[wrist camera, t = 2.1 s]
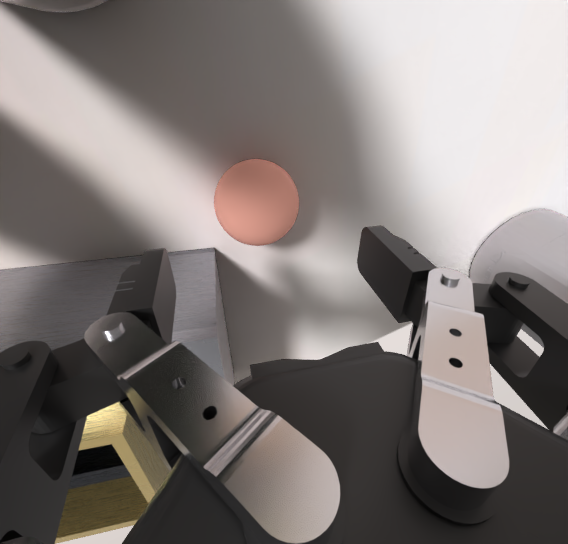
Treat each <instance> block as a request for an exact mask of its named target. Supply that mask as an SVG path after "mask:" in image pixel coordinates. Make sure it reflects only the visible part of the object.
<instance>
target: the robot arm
mask: <svg viewBox="0 0 568 544" xmlns="http://www.w3.org/2000/svg"><path fill="white" fill-rule="evenodd" d="M357 264H358V269H359V271H360V273H361V275H362V276H363V277H364V279H365V280H366V281H367V282H368V284H369V285H370V286H371V288H372V289H373V290H374V292H375V293H376V294H377V296H378V297H379V298H380V299H381V301H382V302H383V303H384V305H385V306H386V307H387V309H388V310H389V311H390V313H391V314H392V315H393V316H394V318H395V319H396V320H397V322H398V323H402V322H408V321H412V322H413V325H412V328H411V332H410V338H409V344H408V351H407V356H405V355H402V354H398V353H393V352H384V351H383V349H382V348H381V346H380V345H379V343H378V342H375V343H369V344H364V345H358V346H353V347H348V348H346V349H343V350H341V351H339V352H337V353H334V354H332V355H330V356H327V357H325V358H323V359H320V360H299V359H281V360H275V361H270V362H264V363H259V364H253V365H250V369H251V376H249V377H247V378H245V379H243V380H241V381H240V382H238V383H236V384H235V385H234V386H232V385H231V384H230V383H229V382H227V381H226V380H225V379H224V378H223V377H221V376H220V375H219V374H218V373H217V372H215V371H214V370H213V369H212V368H210V367H209V366H208V365H207V364H206V363H204V362H203V361H202V360H201V359H200V358H198V357H197V356H196V355H195V354H194V353H192V352H191V351H190V350H189V349H187V348H186V347H185V346H184V345H183V344H181V343H180V342H178V341H173V342H172V333H173V323H174V314H175V304H176V286H175V281H174V277H173V273H172V269H171V265H170V261H169V257H168V253H167V250H166V249H165V248H162V249H153V250H145V251H144V252H143V256H142V259H141V262H140V264H135V265H131V266H129V267H128V268H127V269H126V270H125V271H124V272H123V273H122V275H121V278H120V281H119V284H118V286H117V288H116V292H115V294H114V296H113V299H112V302H111V304H110V307H109V310H108V312H107V315H106V316H104V317H102V318H100V319H98V320H96V321H95V322H94V323H92V324H91V325H90V326H89V327H88V329H87V330H86V332H85V335H84V338H83V339H81V340H79V341H77V342H74V343H71V344H68V345H66V346H63V347H60V348H57V349H54V350H51V349H50V347H49V346H48V344H47V343H45V342H42V341H27V342H23V343H20V344H17V345H14V346H12V347H10V348H8V349H6V350H4V351H2V352H1V353H0V544H55V540H56V536H57V532H58V528H59V524H60V521H61V517H62V513H63V509H64V505H65V501H66V497H67V493H68V489H69V485H70V481H71V478H72V474H73V470H74V466H75V462H76V458H77V454H78V450H79V446H80V442H81V438H82V435H83V431H84V427H85V423H86V419H87V416H88V415H91V414H93V413H95V412H97V411H99V410H102V409H104V408H106V407H108V406H110V405H112V404H115V403H117V402H118V404H119V405H120V406H121V408H122V409H123V410H124V411H125V412H126V414H127V415H128V416H129V417H130V419H131V420H132V421H133V422H134V424H135V425H136V426H137V427H138V429H139V430H140V431H141V432H142V434H143V435H144V436H145V437H146V439H147V440H148V441H149V443H150V444H151V445H152V447H153V449H154V450H155V452H156V453H157V455H158V456H159V458H160V459H161V461H162V462H163V464H164V465H165V466H166V467H167V469H168V470H169V471H170V473H169V474H168V476H167V477H166V479H165V480H164V482H163V483H162V485H161V486H160V488H159V489H158V491H157V492H156V494H155V495H154V496H153V498H152V499H151V501H150V502H149V504H148V505H147V507H146V508H145V510H144V511H143V513H142V514H141V516H140V517H139V519H138V520H137V522H136V523H135V525H134V526H133V528H132V529H131V531H130V532H129V534H128V535H127V537H126V538H125V540H124V541H123V543H122V544H568V217H567V216H565V215H562V214H560V213H557V212H555V211H553V210H548V209H535V210H531V211H528V212H524V213H522V214H520V215H518V216H516V217H513V218H512V219H510V220H509V221H507V222H506V223H504V224H503V225H501V226H500V227H499V228H498V229H497V230H495V231H494V232H493V233H492V234H491V235H490V236H489V237H488V238H487V239H486V241H485V242H484V243H483V244H482V246H481V247H480V249H479V250H478V251H477V253H476V255H475V257H474V259H473V261H472V265H471V268H470V278H469V277H468V276H466V275H465V274H463V273H461V272H459V271H456V270H453V269H449V268H437V267H436V266H434V265H433V264H432V263H431V262H430V261H429V260H427V259H426V258H425V257H424V256H423V255H422V254H419V252H418V251H417V250H416V249H415V248H413V247H412V246H411V245H410V244H409V243H408V242H406V241H405V240H403V239H401V238H399V237H397V236H395V235H393V234H391V233H390V232H389V231H388V230H387V229H386V228H385V227H383V226H373V227H365V228H363V230H362V233H361V239H360V246H359V252H358V259H357ZM520 329H522V330H523V331H525V332H526V333H527V334H528V335H529V336H531V337H532V338H533V339H534V340H535V341H537V342H538V343H539V344H540V345H541V346H542V347H544V351H543V353H542V355H541V356H540V357H539V356H537V355H536V354H535V353H534V352H533V351H532V350H531V349H530V348H529V347H528V346H527V345H526V344H525V343H524V342H522V341H521V340H520V339H519V338H518V337H517V334H518V332H519V331H520ZM171 342H172V343H171ZM490 364H491V365H492V366H493V367H494V368H495V370H496V371H497V372H498V373H499V374H500V375H501V376H502V377H503V379H504V380H505V381H506V382H507V383H508V384H509V385H510V386H511V387H512V389H513V390H514V391H515V392H516V393H517V394H518V395H519V397H520V398H521V399H522V400H523V401H524V402H525V403H526V404H527V406H528V407H529V408H530V409H531V410H532V411H533V412H534V413H535V415H536V416H537V417H538V418H539V419H540V420H541V421H542V422H543V423H544V425H545V426H546V427H547V428H548V429H549V430H548V429H546V428H544V427H542V426H540V425H538V424H537V423H535V422H533V421H531V420H529V419H527V418H525V417H523V416H521V415H520V414H518V413H516V412H514V411H512V410H510V409H508V408H507V407H505V406H503V405H501V404H499V403H497V402H496V401H495V400H494V396H493V388H492V380H491V372H490Z"/></svg>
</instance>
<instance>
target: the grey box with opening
mask: <svg viewBox="0 0 568 544" xmlns="http://www.w3.org/2000/svg"><path fill="white" fill-rule="evenodd" d="M142 256H143V255H140V256H130V257H120V258H111V259H101V260H91V261H82V262H72V263H62V264H53V265H43V266H33V267H24V268H14V269H4V270H0V353H1V352H2V351H4V350H6V349H8V348H10V347H12V346H14V345H17V344H20V343H23V342H27V341H42V342H45V343H47V344H48V346H49V347H50V349H51V350H54V349H57V348H60V347H63V346H66V345H68V344H71V343H74V342H77V341H79V340H81V339H83V338H84V335H85V332H86V330H87V329H88V327H89V326H90V325H91V324H92V323H94V322H95V321H96V320H98V319H100V318H102V317H104V316H106V315H107V312H108V310H109V307H110V304H111V302H112V299H113V296H114V294H115V292H116V288H117V286H118V284H119V281H120V278H121V275H122V273H123V272H124V271H125V270H126V269H127V268H128V267H129V266H131V265H135V264H140V262H141V259H142ZM168 257H169V261H170V265H171V269H172V273H173V277H174V281H175V286H176V304H175V314H174V323H173V333H172V342H173V341H178V342H180V343H181V344H183V345H184V346H185V347H186V348H187V349H189V350H190V351H191V352H192V353H194V354H195V355H196V356H197V357H198V358H200V359H201V360H202V361H203V362H204V363H206V364H207V365H208V366H209V367H210V368H212V369H213V370H214V371H215V372H217V373H218V374H219V375H220V376H221V377H223V378H224V379H225V380H226V381H227V382H229V383H230V384H231V385H232V386H234V385H235V382H234V372H233V365H232V359H231V352H230V346H229V339H228V333H227V326H226V320H225V313H224V307H223V300H222V294H221V287H220V281H219V274H218V268H217V261H216V255H215V249H214V248H207V249H197V250H188V251H178V252H168ZM172 342H171V343H172ZM169 473H170V471H169V470H168V469H167V467H166V466H165V465H164V464H163V462H162V461H161V459H160V458H159V456H158V455H157V453H156V452H155V450H154V449H153V447H152V445H151V444H150V443H149V441H148V440H147V439H146V437H145V436H144V435H143V434H142V432H141V431H140V430H139V429H138V427H137V426H136V425H135V424H134V422H133V421H132V420H131V419H130V417H129V416H128V415H127V414H126V412H125V411H124V410H123V409H122V408H121V406H120V405H119V404H118V402H117V403H115V404H112V405H110V406H108V407H106V408H104V409H102V410H99V411H97V412H95V413H93V414H91V415H88V416H87V419H86V423H85V427H84V431H83V435H82V438H81V442H80V446H79V450H78V454H77V458H76V462H75V466H74V470H73V474H72V478H71V481H70V485H69V489H68V493H67V497H66V501H65V505H64V509H63V513H62V517H61V521H60V524H59V528H58V532H57V536H56V540H55V544H56V543H60V542H64V541H69V540H73V539H77V538H81V537H85V536H90V535H94V534H98V533H102V532H107V531H110V530H115V529H119V528H123V527H128V526H131V525H135V523H136V522H137V520H138V519H139V517H140V516H141V514H142V513H143V511H144V510H145V508H146V507H147V505H148V504H149V502H150V501H151V499H152V498H153V496H154V495H155V494H156V492H157V491H158V489H159V488H160V486H161V485H162V483H163V482H164V480H165V479H166V477H167V476H168V474H169Z"/></svg>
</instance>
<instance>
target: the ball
mask: <svg viewBox="0 0 568 544" xmlns="http://www.w3.org/2000/svg"><path fill="white" fill-rule="evenodd" d="M214 207H215V212H216V216H217V218H218V221H219V223H220V224H221V226H222V227H223V229H224V230H225V231H226V232H227V233H228V234H229V235H230V236H231V237H233V238H234V239H236V240H237V241H239V242H241V243H244V244H248V245H255V246H260V245H267V244H271V243H273V242H275V241H277V240H279V239H281V238H282V237H283V236H284V235H286V234H287V232H288V231H289V230H290V229H291V228H292V226H293V224H294V223H295V221H296V218H297V215H298V210H299V196H298V191H297V188H296V186H295V184H294V182H293V180H292V178H291V177H290V175H289V174H288V173H287V172H286V171H285V170H284V169H282V168H281V167H280V166H278V165H277V164H275V163H273V162H270V161H267V160H262V159H249V160H244V161H241V162H239V163H237V164H235V165H233V166H232V167H231V168H229V169H228V170H227V171H226V172H225V173H224V174H223V176H222V177H221V179H220V180H219V182H218V184H217V187H216V191H215V196H214Z"/></svg>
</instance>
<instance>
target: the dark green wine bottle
mask: <svg viewBox="0 0 568 544" xmlns="http://www.w3.org/2000/svg"><path fill="white" fill-rule="evenodd" d="M0 1H2V2H6V3H10V4H15V5H19V6H23V7H28V8H32V9H37V10H41V11H46V12H76V11H80V10H84V9H88V8H92V7H96V6H98V5H100V4H101V3H103V2H105V1H107V0H0Z"/></svg>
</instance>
